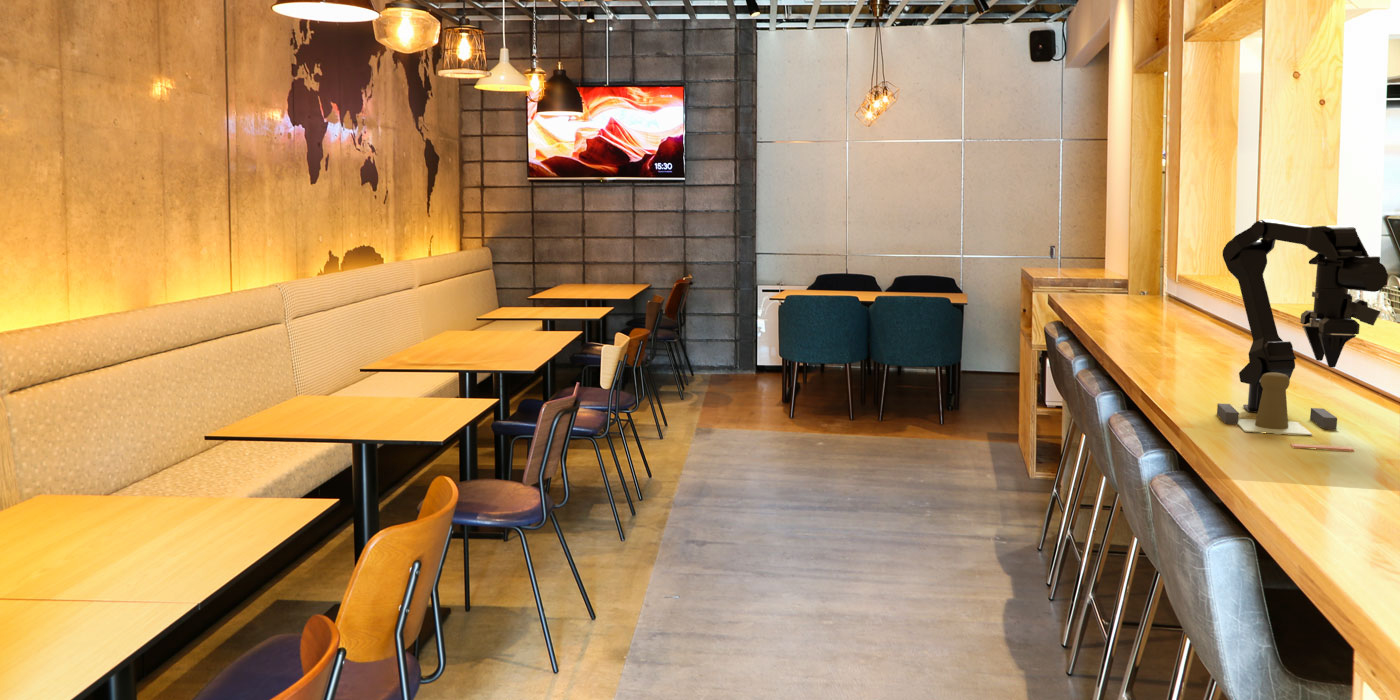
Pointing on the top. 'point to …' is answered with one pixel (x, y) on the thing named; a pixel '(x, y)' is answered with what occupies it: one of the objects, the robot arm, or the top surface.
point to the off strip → (1323, 447)
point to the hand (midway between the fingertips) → (1325, 363)
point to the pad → (1292, 429)
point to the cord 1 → (1227, 413)
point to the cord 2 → (1323, 418)
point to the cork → (1273, 402)
